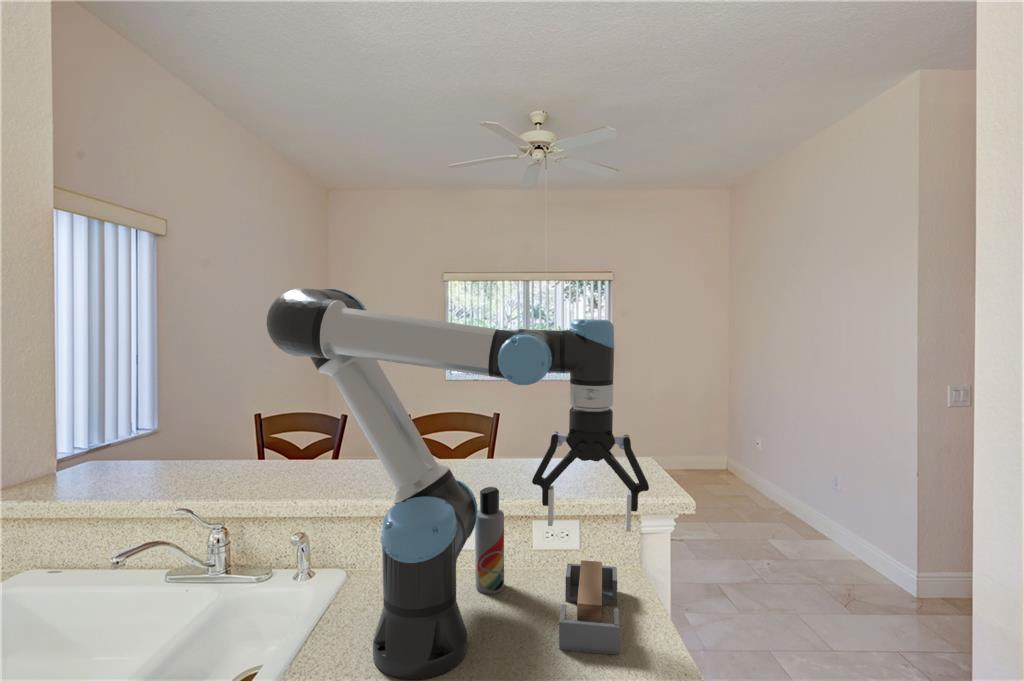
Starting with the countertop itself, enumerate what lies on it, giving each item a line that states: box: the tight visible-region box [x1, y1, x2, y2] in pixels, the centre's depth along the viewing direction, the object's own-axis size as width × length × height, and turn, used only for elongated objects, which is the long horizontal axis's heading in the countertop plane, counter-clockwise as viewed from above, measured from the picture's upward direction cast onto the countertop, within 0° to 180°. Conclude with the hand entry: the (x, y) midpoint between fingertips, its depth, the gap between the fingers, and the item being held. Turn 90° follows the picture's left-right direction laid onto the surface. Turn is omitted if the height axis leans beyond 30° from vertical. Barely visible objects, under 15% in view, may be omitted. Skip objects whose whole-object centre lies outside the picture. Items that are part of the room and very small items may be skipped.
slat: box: [576, 559, 603, 623], centre depth 101 cm, size 4×16×6 cm, turn 171°
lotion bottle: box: [474, 486, 505, 595], centre depth 112 cm, size 6×6×20 cm
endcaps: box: [558, 563, 620, 656], centre depth 102 cm, size 10×21×5 cm, turn 171°
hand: (589, 526), depth 101 cm, fingers open, 13 cm apart
